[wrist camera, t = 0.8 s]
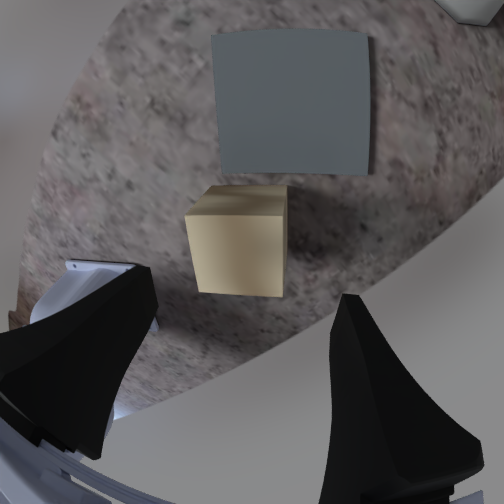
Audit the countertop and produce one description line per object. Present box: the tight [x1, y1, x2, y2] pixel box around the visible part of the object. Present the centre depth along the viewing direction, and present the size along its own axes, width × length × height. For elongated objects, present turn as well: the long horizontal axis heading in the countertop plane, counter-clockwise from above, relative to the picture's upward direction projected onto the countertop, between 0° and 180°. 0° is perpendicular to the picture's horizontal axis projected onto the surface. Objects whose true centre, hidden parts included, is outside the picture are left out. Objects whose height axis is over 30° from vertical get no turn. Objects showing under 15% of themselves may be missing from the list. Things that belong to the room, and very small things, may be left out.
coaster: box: [211, 29, 370, 176], centre depth 14 cm, size 9×9×1 cm
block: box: [185, 185, 287, 297], centre depth 17 cm, size 5×5×5 cm
